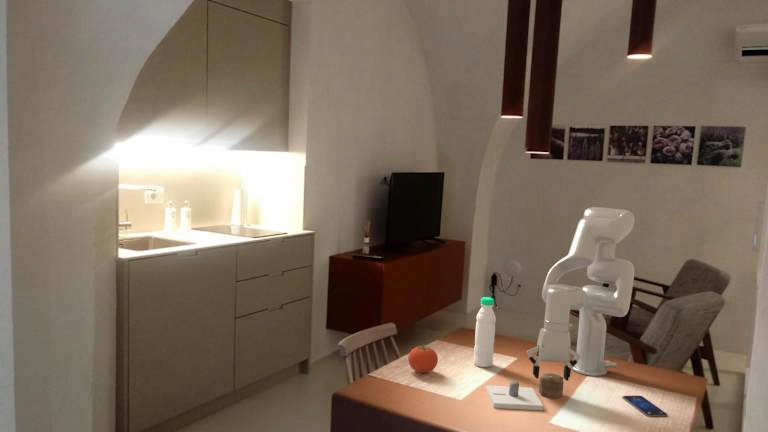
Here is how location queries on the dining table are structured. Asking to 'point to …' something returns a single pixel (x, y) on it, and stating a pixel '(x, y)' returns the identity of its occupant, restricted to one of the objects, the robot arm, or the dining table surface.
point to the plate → (513, 397)
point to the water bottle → (484, 334)
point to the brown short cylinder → (551, 386)
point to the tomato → (423, 359)
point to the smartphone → (645, 406)
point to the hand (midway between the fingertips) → (550, 378)
